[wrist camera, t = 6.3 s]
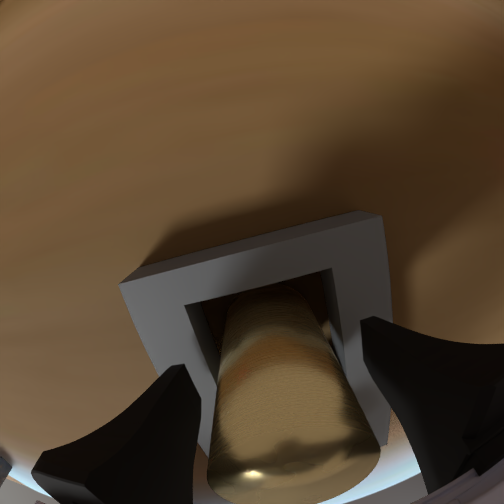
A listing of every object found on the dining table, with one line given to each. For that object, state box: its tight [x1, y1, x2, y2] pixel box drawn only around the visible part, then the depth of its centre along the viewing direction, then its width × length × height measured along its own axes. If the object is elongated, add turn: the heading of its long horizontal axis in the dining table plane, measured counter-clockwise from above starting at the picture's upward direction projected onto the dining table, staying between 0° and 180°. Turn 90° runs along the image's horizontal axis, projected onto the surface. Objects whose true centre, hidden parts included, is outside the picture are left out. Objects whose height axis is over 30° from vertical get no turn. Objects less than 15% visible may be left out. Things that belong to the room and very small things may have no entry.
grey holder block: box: [118, 210, 393, 458], centre depth 12 cm, size 15×11×6 cm
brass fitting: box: [207, 283, 381, 504], centre depth 10 cm, size 4×4×9 cm
